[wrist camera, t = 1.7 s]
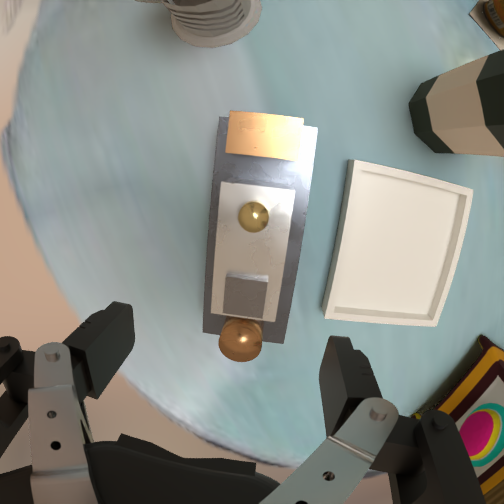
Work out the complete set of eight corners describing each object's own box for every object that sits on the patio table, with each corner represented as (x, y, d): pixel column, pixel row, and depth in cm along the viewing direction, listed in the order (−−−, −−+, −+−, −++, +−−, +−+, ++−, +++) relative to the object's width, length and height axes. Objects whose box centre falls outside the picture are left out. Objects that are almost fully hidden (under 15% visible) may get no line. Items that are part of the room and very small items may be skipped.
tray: (348, 159, 28) (354, 159, 25) (461, 187, 27) (473, 190, 25) (321, 307, 33) (324, 318, 30) (427, 316, 32) (435, 326, 30)
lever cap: (231, 177, 24) (218, 183, 19) (292, 185, 24) (296, 192, 19) (220, 289, 28) (208, 319, 22) (275, 296, 27) (274, 328, 22)
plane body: (229, 123, 28) (208, 109, 19) (311, 132, 27) (325, 122, 19) (212, 308, 34) (192, 355, 25) (283, 318, 34) (283, 369, 25)
